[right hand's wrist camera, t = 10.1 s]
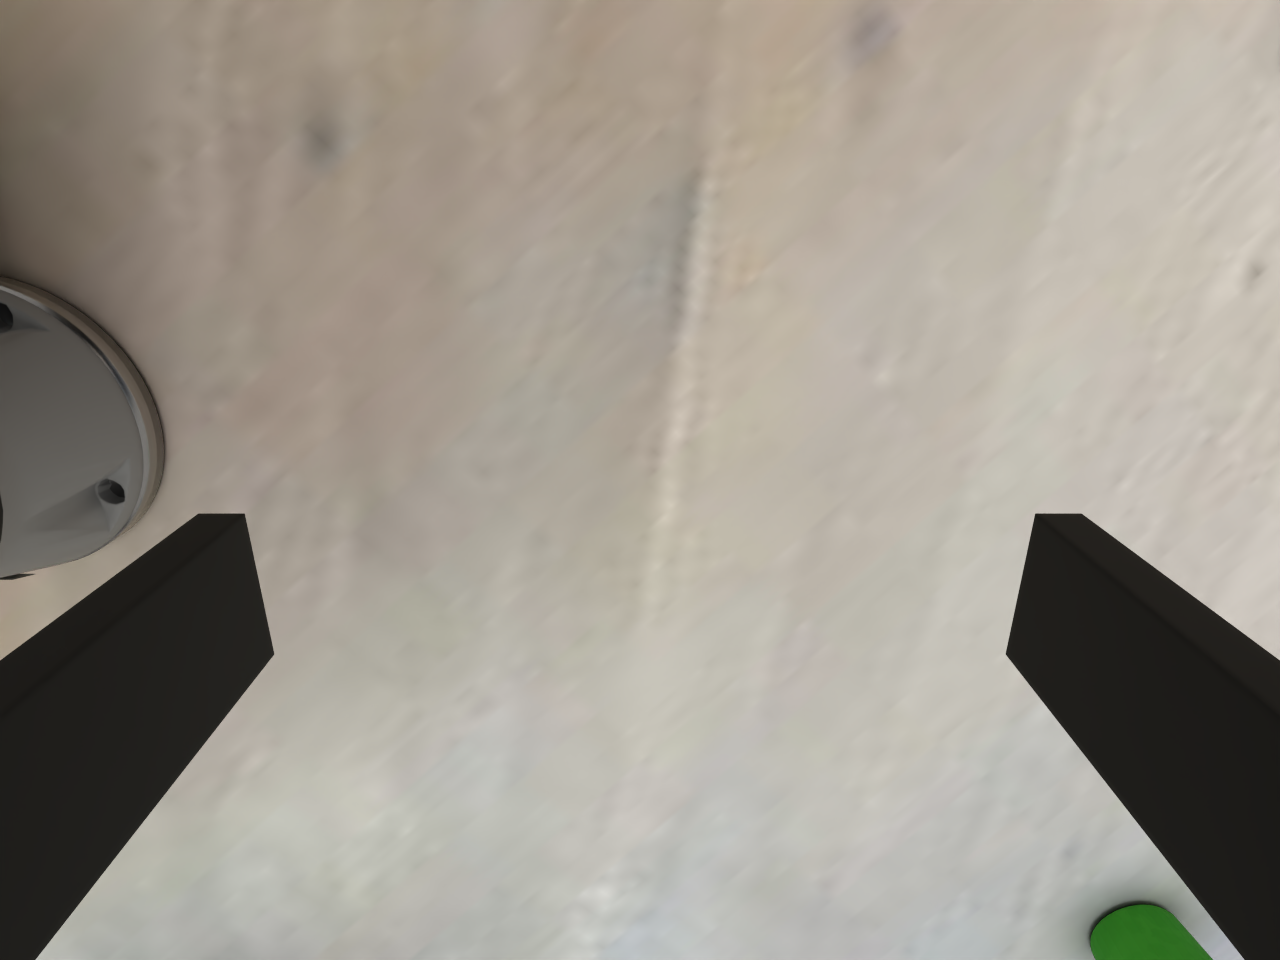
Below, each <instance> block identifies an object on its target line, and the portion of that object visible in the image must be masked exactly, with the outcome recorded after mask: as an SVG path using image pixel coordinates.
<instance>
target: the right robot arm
mask: <svg viewBox="0 0 1280 960" xmlns="http://www.w3.org/2000/svg"><path fill="white" fill-rule="evenodd" d="M163 463H164V443H163V434H162V429H161V424H160V420H159V416H158V413H157V410H156V407H155V404H154V402H153V400H152V397H151V395H150V393H149V390H148V389H147V387H146V385H145V383H144V381H143V379H142V377H141V376H140V374H139V373H138V371H137V370H136V368H135V367H134V365H133V363H132V362H131V361H130V360H129V358H128V357H127V356H126V354H125V353H124V352H123V351H122V349H121V348H120V347H119V346H118V345H117V344H116V343H115V342H114V340H113V339H112V338H111V337H110V336H109V335H108V334H106V333H105V332H104V331H103V330H102V329H101V328H100V327H99V326H98V325H97V324H95V323H94V322H93V321H92V320H91V319H89V318H88V317H87V316H86V315H84V314H83V313H81V312H80V311H79V310H77V309H76V308H74V307H73V306H71V305H70V304H68V303H66V302H65V301H63V300H61V299H59V298H58V297H56V296H54V295H52V294H50V293H48V292H46V291H44V290H42V289H39V288H37V287H34V286H31V285H29V284H26V283H23V282H20V281H17V280H13V279H10V278H5V277H1V276H0V580H13V579H17V578H21V577H26V576H30V575H34V574H19V573H24V572H28V571H33V570H37V569H42V568H46V567H51V566H55V565H60V564H63V563H67V562H71V561H74V560H78V559H80V558H83V557H85V556H88V555H90V554H92V553H94V552H96V551H98V550H100V549H101V548H103V547H104V546H105V545H107V544H108V543H110V542H111V541H113V540H114V539H116V538H117V537H119V536H120V535H122V534H123V533H125V532H126V531H128V530H129V529H130V528H131V527H132V526H133V525H135V524H136V523H137V522H138V521H139V520H140V518H141V517H142V516H143V515H144V514H145V512H146V511H147V509H148V508H149V506H150V505H151V503H152V501H153V499H154V497H155V495H156V493H157V490H158V487H159V485H160V481H161V477H162V472H163ZM273 655H274V651H273V646H272V641H271V636H270V632H269V627H268V622H267V617H266V613H265V608H264V603H263V598H262V594H261V589H260V584H259V579H258V575H257V570H256V565H255V561H254V556H253V551H252V546H251V542H250V537H249V532H248V527H247V523H246V518H245V514H197V515H196V516H195V517H193V518H192V519H191V520H189V521H188V522H187V523H185V524H184V525H183V526H181V527H180V528H178V529H177V530H176V531H174V532H173V533H172V534H170V535H169V536H168V537H166V538H165V539H164V540H162V541H161V542H160V543H158V544H157V545H156V546H154V547H153V548H151V549H150V550H149V551H147V552H146V553H145V554H143V555H142V556H141V557H139V558H138V559H137V560H135V561H134V562H133V563H131V564H130V565H129V566H127V567H126V568H124V569H123V570H122V571H120V572H119V573H118V574H116V575H115V576H114V577H112V578H111V579H110V580H108V581H107V582H106V583H104V584H103V585H102V586H100V587H99V588H97V589H96V590H95V591H93V592H92V593H91V594H89V595H88V596H87V597H85V598H84V599H83V600H81V601H80V602H79V603H77V604H76V605H75V606H73V607H72V608H71V609H69V610H68V611H66V612H65V613H64V614H62V615H61V616H60V617H58V618H57V619H56V620H54V621H53V622H52V623H50V624H49V625H48V626H46V627H45V628H44V629H42V630H41V631H39V632H38V633H37V634H35V635H34V636H33V637H31V638H30V639H29V640H27V641H26V642H25V643H23V644H22V645H21V646H19V647H18V648H17V649H15V650H14V651H12V652H11V653H10V654H8V655H7V656H6V657H4V658H3V659H2V660H0V960H35V959H36V958H37V957H38V956H39V954H40V953H41V952H42V951H43V949H44V948H45V947H46V945H47V944H48V943H49V942H50V940H51V939H52V938H53V936H54V935H55V934H56V933H57V931H58V930H59V929H60V928H61V926H62V925H63V924H64V922H65V921H66V920H67V919H68V917H69V916H70V915H71V913H72V912H73V911H74V910H75V908H76V907H77V906H78V904H79V903H80V902H81V901H82V899H83V898H84V897H85V896H86V894H87V893H88V892H89V890H90V889H91V888H92V887H93V885H94V884H95V883H96V881H97V880H98V879H99V878H100V876H101V875H102V874H103V873H104V871H105V870H106V869H107V867H108V866H109V865H110V864H111V862H112V861H113V860H114V858H115V857H116V856H117V855H118V853H119V852H120V851H121V850H122V848H123V847H124V846H125V844H126V843H127V842H128V841H129V839H130V838H131V837H132V835H133V834H134V833H135V832H136V830H137V829H138V828H139V827H140V825H141V824H142V823H143V821H144V820H145V819H146V818H147V816H148V815H149V814H150V812H151V811H152V810H153V809H154V807H155V806H156V805H157V803H158V802H159V801H160V800H161V798H162V797H163V796H164V795H165V793H166V792H167V791H168V789H169V788H170V787H171V786H172V784H173V783H174V782H175V780H176V779H177V778H178V777H179V775H180V774H181V773H182V772H183V770H184V769H185V768H186V766H187V765H188V764H189V763H190V761H191V760H192V759H193V757H194V756H195V755H196V754H197V752H198V751H199V750H200V749H201V747H202V746H203V745H204V743H205V742H206V741H207V740H208V738H209V737H210V736H211V734H212V733H213V732H214V731H215V729H216V728H217V727H218V726H219V724H220V723H221V722H222V720H223V719H224V718H225V717H226V715H227V714H228V713H229V711H230V710H231V709H232V708H233V706H234V705H235V704H236V702H237V701H238V700H239V699H240V697H241V696H242V695H243V694H244V692H245V691H246V690H247V688H248V687H249V686H250V685H251V683H252V682H253V681H254V679H255V678H256V677H257V676H258V674H259V673H260V672H261V671H262V669H263V668H264V667H265V665H266V664H267V663H268V662H269V660H270V659H271V658H272V656H273ZM1006 655H1007V656H1008V658H1009V659H1010V660H1011V662H1012V663H1013V664H1014V665H1015V667H1016V668H1017V669H1018V671H1019V672H1020V673H1021V674H1022V676H1023V677H1024V678H1025V679H1026V681H1027V682H1028V683H1029V685H1030V686H1031V687H1032V688H1033V690H1034V691H1035V692H1036V694H1037V695H1038V696H1039V697H1040V699H1041V700H1042V701H1043V702H1044V704H1045V705H1046V706H1047V708H1048V709H1049V710H1050V711H1051V713H1052V714H1053V715H1054V717H1055V718H1056V719H1057V720H1058V722H1059V723H1060V724H1061V726H1062V727H1063V728H1064V729H1065V731H1066V732H1067V733H1068V734H1069V736H1070V737H1071V738H1072V740H1073V741H1074V742H1075V743H1076V745H1077V746H1078V747H1079V749H1080V750H1081V751H1082V752H1083V754H1084V755H1085V756H1086V757H1087V759H1088V760H1089V761H1090V763H1091V764H1092V765H1093V766H1094V768H1095V769H1096V770H1097V772H1098V773H1099V774H1100V775H1101V777H1102V778H1103V779H1104V780H1105V782H1106V783H1107V784H1108V786H1109V787H1110V788H1111V789H1112V791H1113V792H1114V793H1115V795H1116V796H1117V797H1118V798H1119V800H1120V801H1121V802H1122V803H1123V805H1124V806H1125V807H1126V809H1127V810H1128V811H1129V812H1130V814H1131V815H1132V816H1133V818H1134V819H1135V820H1136V821H1137V823H1138V824H1139V825H1140V827H1141V828H1142V829H1143V830H1144V832H1145V833H1146V834H1147V835H1148V837H1149V838H1150V839H1151V841H1152V842H1153V843H1154V844H1155V846H1156V847H1157V848H1158V850H1159V851H1160V852H1161V853H1162V855H1163V856H1164V857H1165V858H1166V860H1167V861H1168V862H1169V864H1170V865H1171V866H1172V867H1173V869H1174V870H1175V871H1176V873H1177V874H1178V875H1179V876H1180V878H1181V879H1182V880H1183V881H1184V883H1185V884H1186V885H1187V887H1188V888H1189V889H1190V890H1191V892H1192V893H1193V894H1194V896H1195V897H1196V898H1197V899H1198V901H1199V902H1200V903H1201V904H1202V906H1203V907H1204V908H1205V910H1206V911H1207V912H1208V913H1209V915H1210V916H1211V917H1212V919H1213V920H1214V921H1215V922H1216V924H1217V925H1218V926H1219V928H1220V929H1221V930H1222V931H1223V933H1224V934H1225V935H1226V936H1227V938H1228V939H1229V940H1230V942H1231V943H1232V944H1233V945H1234V947H1235V948H1236V949H1237V951H1238V952H1239V953H1240V954H1241V956H1242V957H1243V958H1244V959H1245V960H1280V660H1278V659H1277V658H1276V657H1274V656H1273V655H1272V654H1270V653H1269V652H1268V651H1266V650H1265V649H1263V648H1262V647H1261V646H1259V645H1258V644H1257V643H1255V642H1254V641H1253V640H1251V639H1250V638H1249V637H1247V636H1246V635H1245V634H1243V633H1242V632H1241V631H1239V630H1238V629H1236V628H1235V627H1234V626H1232V625H1231V624H1230V623H1228V622H1227V621H1226V620H1224V619H1223V618H1222V617H1220V616H1219V615H1218V614H1216V613H1215V612H1214V611H1212V610H1211V609H1209V608H1208V607H1207V606H1205V605H1204V604H1203V603H1201V602H1200V601H1199V600H1197V599H1196V598H1195V597H1193V596H1192V595H1191V594H1189V593H1188V592H1187V591H1185V590H1184V589H1183V588H1181V587H1180V586H1178V585H1177V584H1176V583H1174V582H1173V581H1172V580H1170V579H1169V578H1168V577H1166V576H1165V575H1164V574H1162V573H1161V572H1160V571H1158V570H1157V569H1156V568H1154V567H1153V566H1151V565H1150V564H1149V563H1147V562H1146V561H1145V560H1143V559H1142V558H1141V557H1139V556H1138V555H1137V554H1135V553H1134V552H1133V551H1131V550H1130V549H1129V548H1127V547H1126V546H1124V545H1123V544H1122V543H1120V542H1119V541H1118V540H1116V539H1115V538H1114V537H1112V536H1111V535H1110V534H1108V533H1107V532H1106V531H1104V530H1103V529H1102V528H1100V527H1099V526H1097V525H1096V524H1095V523H1093V522H1092V521H1091V520H1089V519H1088V518H1087V517H1085V516H1084V515H1083V514H1035V518H1034V523H1033V527H1032V532H1031V537H1030V542H1029V546H1028V551H1027V556H1026V561H1025V565H1024V570H1023V575H1022V579H1021V584H1020V589H1019V594H1018V598H1017V603H1016V608H1015V613H1014V617H1013V622H1012V627H1011V632H1010V636H1009V641H1008V646H1007V651H1006Z"/></svg>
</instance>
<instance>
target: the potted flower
mask: <svg viewBox="0 0 1280 960" xmlns="http://www.w3.org/2000/svg"><path fill="white" fill-rule="evenodd" d="M1090 946H1091V950H1092V953H1093V955H1094V957H1095V959H1096V960H1213V959H1212V958H1211V957H1210V956H1209V955H1208V954H1207V952H1206V951H1205V950H1204V949H1203V948H1202V947H1201V946H1200V945H1199V943H1198V942H1197V941H1196V940H1195V939H1194V938H1193V937H1192V935H1191V934H1190V933H1189V932H1188V931H1187V930H1186V929H1185V928H1184V926H1183V925H1182V924H1181V923H1180V922H1179V921H1178V920H1177V918H1176V917H1175V916H1174V915H1173V914H1171V913H1170V912H1168V911H1167V910H1165V909H1163V908H1160V907H1158V906H1153V905H1133V906H1129V907H1125V908H1122V909H1119V910H1117V911H1114V912H1113V913H1111V914H1109V915H1107V916H1106V917H1105V918H1103V919H1102V920H1101V921H1100V922H1099V923H1098V924H1097V925H1096V927H1095V928H1094V930H1093V932H1092V935H1091V940H1090Z"/></svg>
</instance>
